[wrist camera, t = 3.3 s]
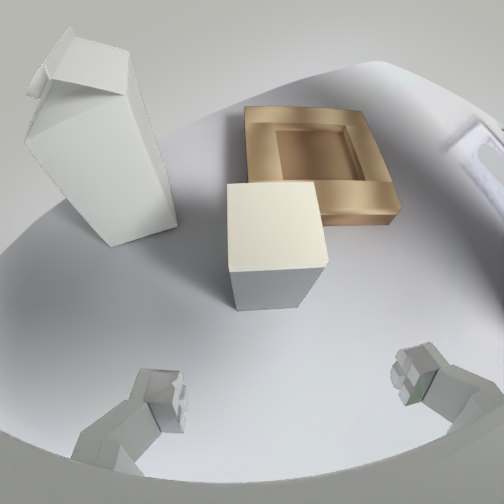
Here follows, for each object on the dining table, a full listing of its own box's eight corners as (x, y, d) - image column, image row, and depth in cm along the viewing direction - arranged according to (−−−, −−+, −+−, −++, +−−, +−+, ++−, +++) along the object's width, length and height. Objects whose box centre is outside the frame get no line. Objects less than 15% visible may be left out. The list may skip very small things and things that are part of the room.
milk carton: (167, 173, 29) (118, 7, 11) (179, 227, 26) (107, 34, 9) (107, 193, 28) (28, 48, 11) (111, 249, 25) (-8, 96, 8)
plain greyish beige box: (291, 252, 25) (313, 181, 16) (297, 307, 23) (328, 261, 14) (234, 254, 25) (226, 183, 16) (236, 311, 23) (228, 266, 14)
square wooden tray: (354, 130, 32) (361, 111, 29) (388, 224, 26) (401, 208, 24) (244, 127, 32) (244, 106, 29) (250, 228, 26) (250, 209, 23)
